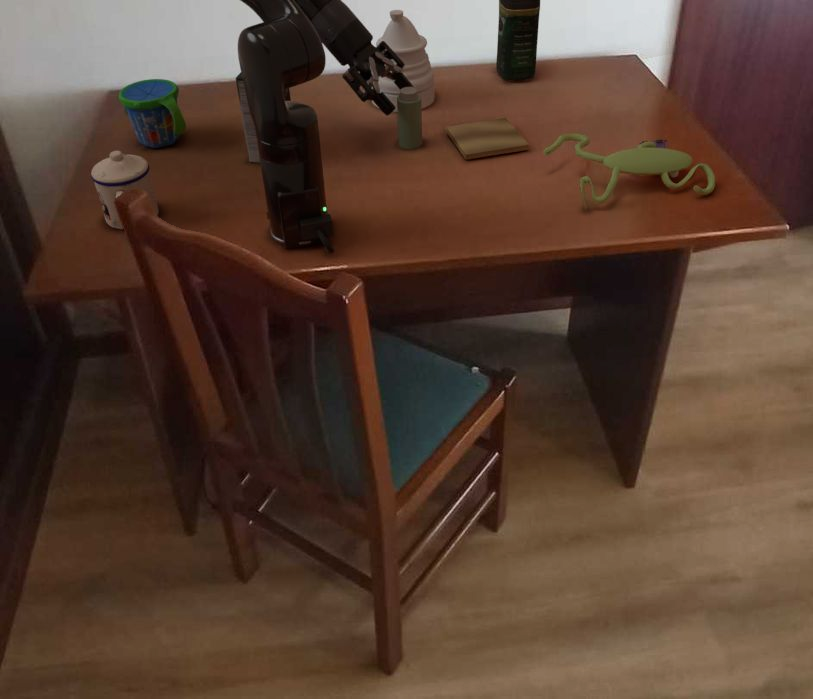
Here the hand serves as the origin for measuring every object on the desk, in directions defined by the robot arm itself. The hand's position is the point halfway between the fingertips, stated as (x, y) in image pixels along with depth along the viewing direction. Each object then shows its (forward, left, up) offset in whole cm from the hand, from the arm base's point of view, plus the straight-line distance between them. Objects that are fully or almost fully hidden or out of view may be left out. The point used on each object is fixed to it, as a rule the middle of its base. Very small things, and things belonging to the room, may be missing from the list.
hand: (401, 102), depth 157 cm
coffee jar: (+23, -31, -8) cm, 40 cm away
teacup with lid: (-13, +50, -8) cm, 52 cm away
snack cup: (+16, +44, -8) cm, 47 cm away
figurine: (-26, -32, -8) cm, 42 cm away
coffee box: (+4, +24, -8) cm, 26 cm away
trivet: (-5, -15, -8) cm, 17 cm away
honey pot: (+19, -5, -8) cm, 21 cm away
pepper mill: (-1, -1, -8) cm, 8 cm away
